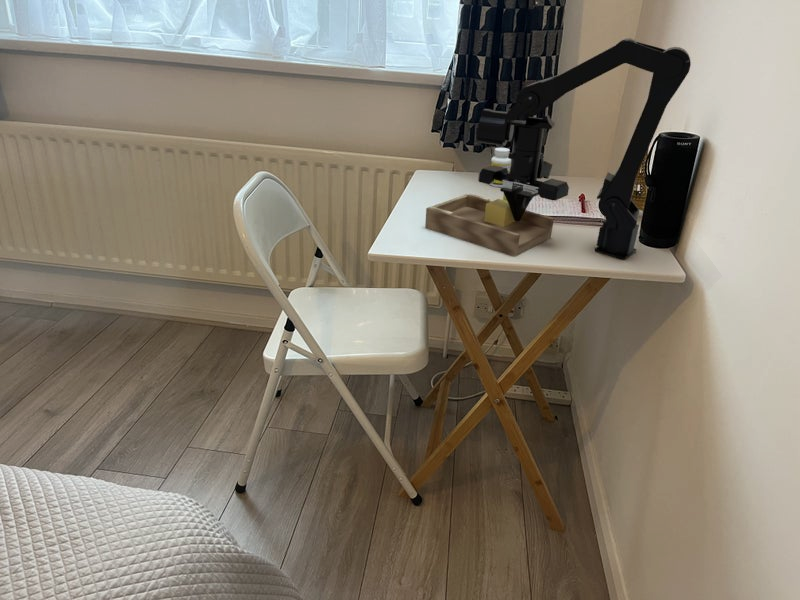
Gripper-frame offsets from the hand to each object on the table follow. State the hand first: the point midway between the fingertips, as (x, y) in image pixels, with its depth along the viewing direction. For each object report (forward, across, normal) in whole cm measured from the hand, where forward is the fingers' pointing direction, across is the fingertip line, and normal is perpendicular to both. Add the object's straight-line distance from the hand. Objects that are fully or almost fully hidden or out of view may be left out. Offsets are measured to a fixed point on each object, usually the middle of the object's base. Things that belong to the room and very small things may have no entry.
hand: (517, 220), depth 131 cm
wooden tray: (+3, +5, +3) cm, 7 cm away
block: (+1, +4, 0) cm, 4 cm away
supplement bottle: (+3, +24, -31) cm, 39 cm away
